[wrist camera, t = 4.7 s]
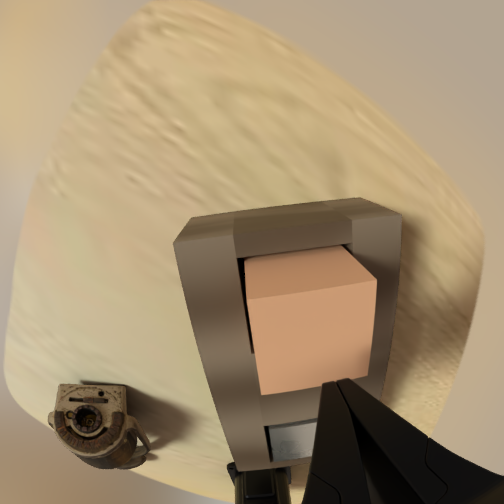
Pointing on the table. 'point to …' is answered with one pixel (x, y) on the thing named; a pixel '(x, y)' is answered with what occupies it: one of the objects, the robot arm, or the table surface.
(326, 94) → the table surface
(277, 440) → the aluminium plug
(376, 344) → the plug panel
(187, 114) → the table surface
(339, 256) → the terracotta plug
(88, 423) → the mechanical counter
